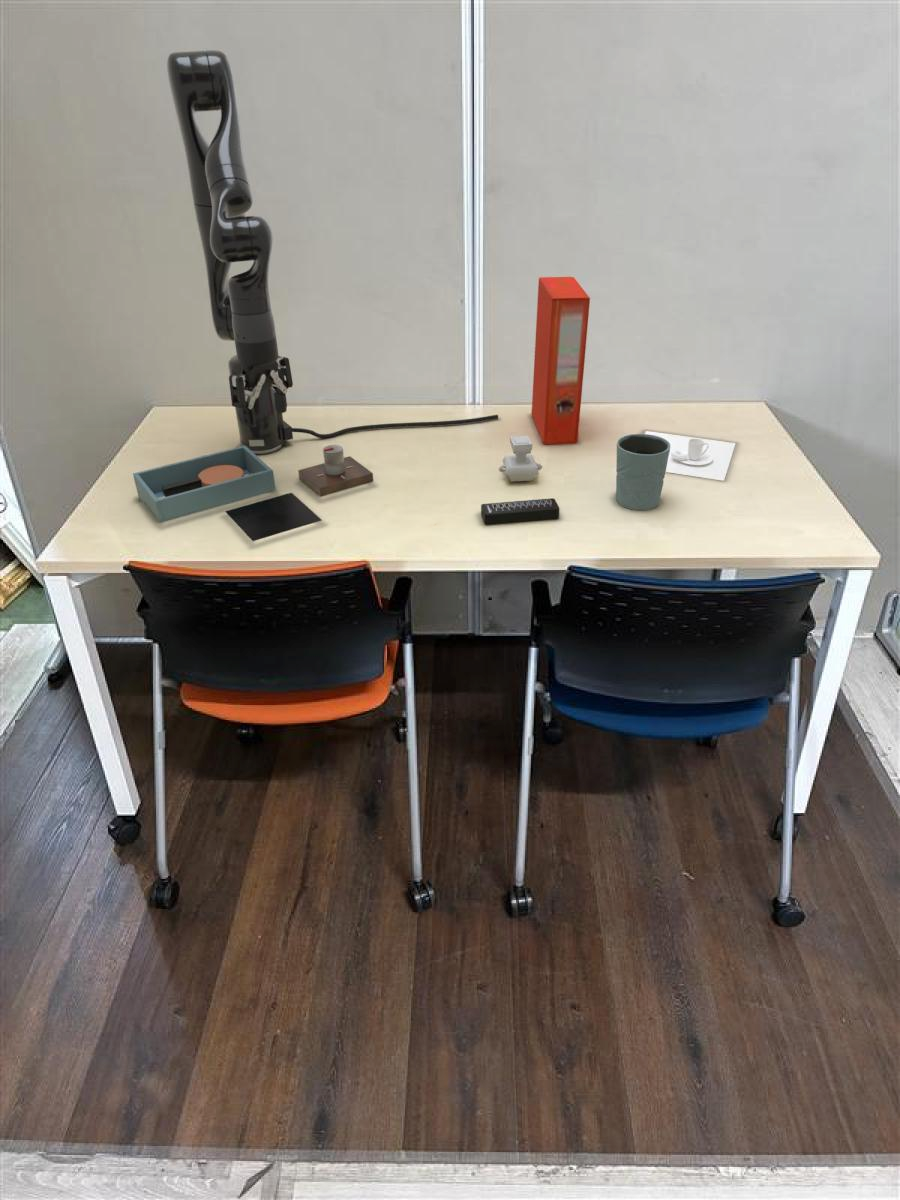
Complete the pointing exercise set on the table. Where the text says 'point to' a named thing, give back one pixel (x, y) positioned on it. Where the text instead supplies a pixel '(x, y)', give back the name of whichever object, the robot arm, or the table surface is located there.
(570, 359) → the file binder
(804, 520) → the table surface
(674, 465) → the teacup and saucer
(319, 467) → the rotary knob panel
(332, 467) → the tap dial
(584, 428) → the table surface
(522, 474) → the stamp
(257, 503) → the plate
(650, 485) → the green cup
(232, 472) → the pan
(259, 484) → the basin
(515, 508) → the multiport hub
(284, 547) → the table surface
